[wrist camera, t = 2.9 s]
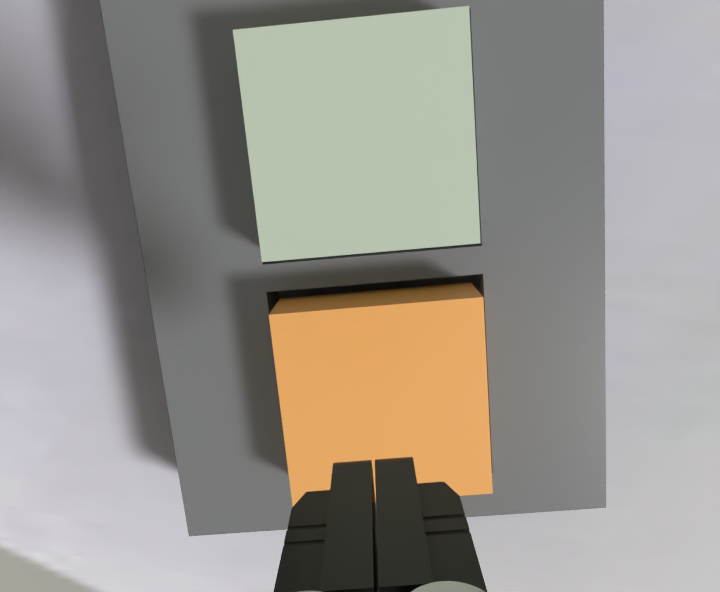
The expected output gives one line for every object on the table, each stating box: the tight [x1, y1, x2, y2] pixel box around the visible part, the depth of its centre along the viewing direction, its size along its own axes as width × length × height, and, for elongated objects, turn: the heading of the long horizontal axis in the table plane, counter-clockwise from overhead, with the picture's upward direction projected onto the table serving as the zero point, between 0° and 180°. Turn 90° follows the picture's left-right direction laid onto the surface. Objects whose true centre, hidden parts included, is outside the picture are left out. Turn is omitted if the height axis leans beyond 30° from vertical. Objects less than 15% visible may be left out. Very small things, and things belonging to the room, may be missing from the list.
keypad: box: [100, 0, 606, 536], centre depth 18 cm, size 23×13×3 cm, turn 5°
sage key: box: [233, 6, 481, 262], centre depth 16 cm, size 6×6×2 cm
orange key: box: [269, 283, 493, 506], centre depth 17 cm, size 6×6×2 cm
